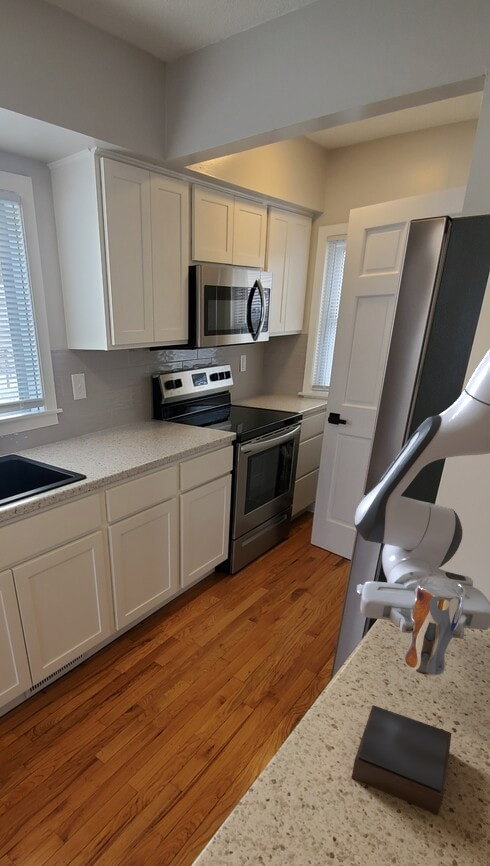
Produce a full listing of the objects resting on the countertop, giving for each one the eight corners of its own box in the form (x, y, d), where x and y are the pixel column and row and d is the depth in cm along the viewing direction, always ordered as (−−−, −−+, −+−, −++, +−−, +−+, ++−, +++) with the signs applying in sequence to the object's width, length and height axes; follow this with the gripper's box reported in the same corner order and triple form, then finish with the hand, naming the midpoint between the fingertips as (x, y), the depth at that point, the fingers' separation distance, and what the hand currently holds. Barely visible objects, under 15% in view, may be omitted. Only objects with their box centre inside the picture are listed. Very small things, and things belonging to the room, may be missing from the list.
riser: (369, 722, 78) (372, 703, 77) (446, 750, 73) (452, 731, 71) (351, 778, 69) (354, 757, 68) (438, 815, 64) (444, 794, 62)
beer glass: (447, 657, 82) (466, 580, 76) (447, 683, 76) (468, 602, 70) (402, 646, 85) (416, 571, 79) (399, 670, 79) (414, 592, 73)
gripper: (357, 568, 90) (365, 608, 78) (481, 578, 85) (510, 622, 73) (353, 596, 93) (360, 640, 81) (473, 608, 88) (500, 656, 76)
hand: (432, 632), depth 77 cm, fingers closed on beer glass, 6 cm apart
